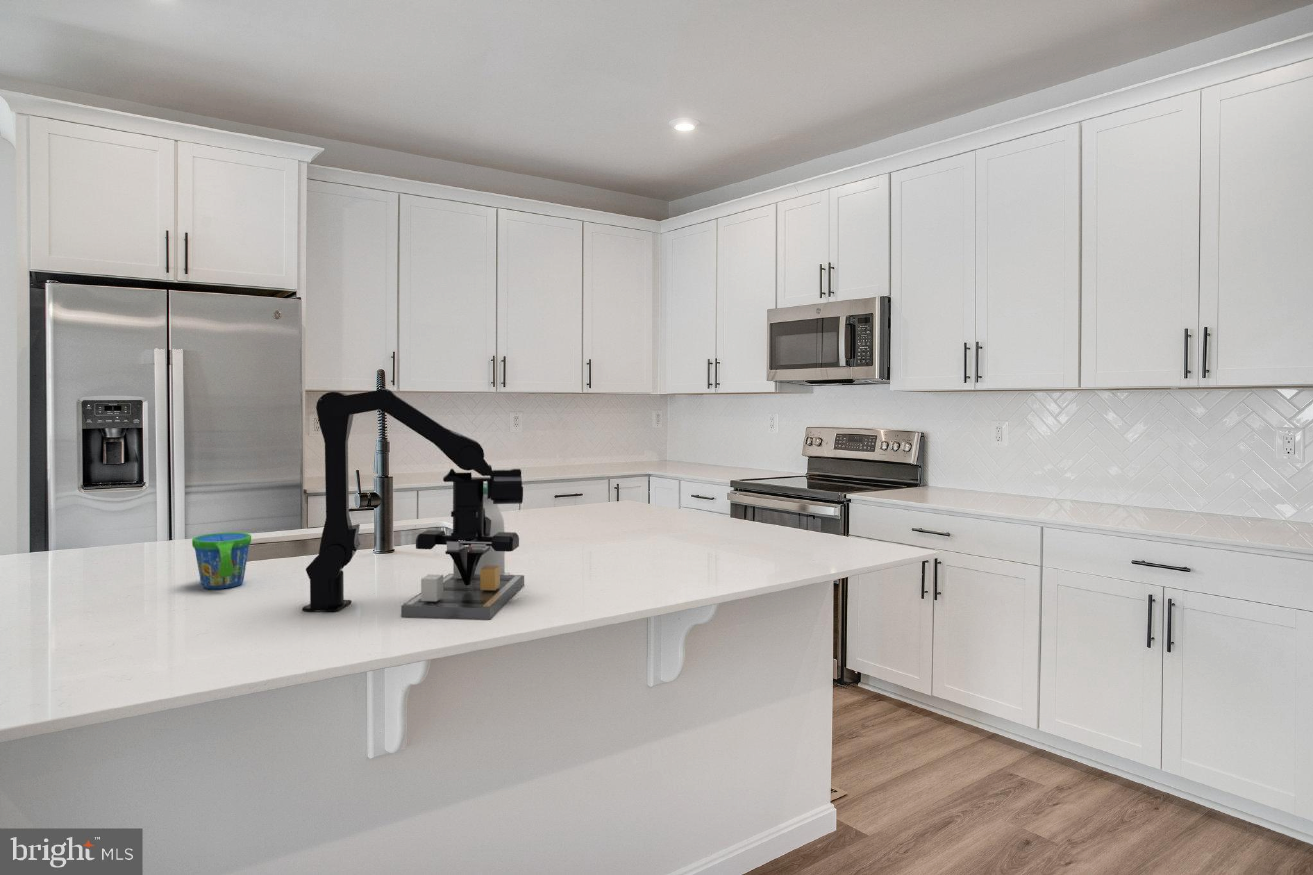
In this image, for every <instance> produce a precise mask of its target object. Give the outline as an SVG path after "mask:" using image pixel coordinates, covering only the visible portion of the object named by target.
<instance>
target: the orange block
mask: <svg viewBox="0 0 1313 875" xmlns="http://www.w3.org/2000/svg"><path fill="white" fill-rule="evenodd" d="M499 586H500V566H498V565H485V566H484V567H483V568H481V569H480V590H496V589H497V588H498V587H499Z"/></svg>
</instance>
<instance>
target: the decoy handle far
mask: <svg viewBox="0 0 1313 875" xmlns="http://www.w3.org/2000/svg"><path fill="white" fill-rule="evenodd" d="M452 561H453V560H452ZM452 566H453V570H452V571H453V573H452V574H453V578H462V577H461V575H460V572H459V570H458V568H457V566H456V564H455V563H454V561H453V565H452Z"/></svg>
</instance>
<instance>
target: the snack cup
mask: <svg viewBox="0 0 1313 875" xmlns="http://www.w3.org/2000/svg"><path fill="white" fill-rule="evenodd" d="M251 542H252V535H251V534H250V533H245V532H216V533H209V534H202V535H198V536H194V537H193V538H192V540H191V544H192V545H191V546H192V548H193V549H194V551H195V552H194V553H195V558H196V564H197V568H198V569H197V570H198V575H199V580H200V585H201V586H202V587H204V588H205V589H207V590H209V589H213V590H223V589H224V588H225V589H230V588H235V586H236V587H239V586H241V585H242V584H243V583H244V579H245V573H246V565H247V561H248V556H249V555H248V554H249V549H250V548H249V547H250V544H251Z"/></svg>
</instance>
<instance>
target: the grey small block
mask: <svg viewBox="0 0 1313 875" xmlns="http://www.w3.org/2000/svg"><path fill="white" fill-rule="evenodd" d="M443 577H444V574H430V573H429V574H426V575H425V576H424V577H422V578H421V580H420V587H421V588H420V589H421V590H420V593H421V601H438V600H439V599H440V598H442V597H443Z"/></svg>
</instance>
